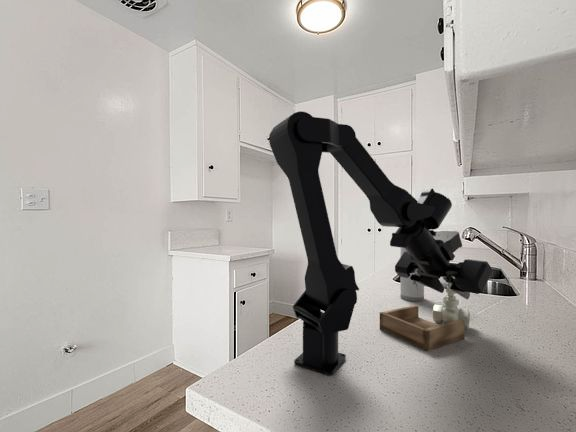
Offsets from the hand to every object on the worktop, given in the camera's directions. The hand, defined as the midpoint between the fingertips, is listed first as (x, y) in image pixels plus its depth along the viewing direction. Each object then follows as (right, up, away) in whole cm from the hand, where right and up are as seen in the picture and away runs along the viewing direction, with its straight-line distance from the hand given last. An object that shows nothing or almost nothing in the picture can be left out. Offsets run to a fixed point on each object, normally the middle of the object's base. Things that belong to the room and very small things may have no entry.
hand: (455, 294), depth 62 cm
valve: (-1, -7, -1) cm, 7 cm away
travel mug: (-1, -7, +20) cm, 21 cm away
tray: (-10, -7, -5) cm, 13 cm away
